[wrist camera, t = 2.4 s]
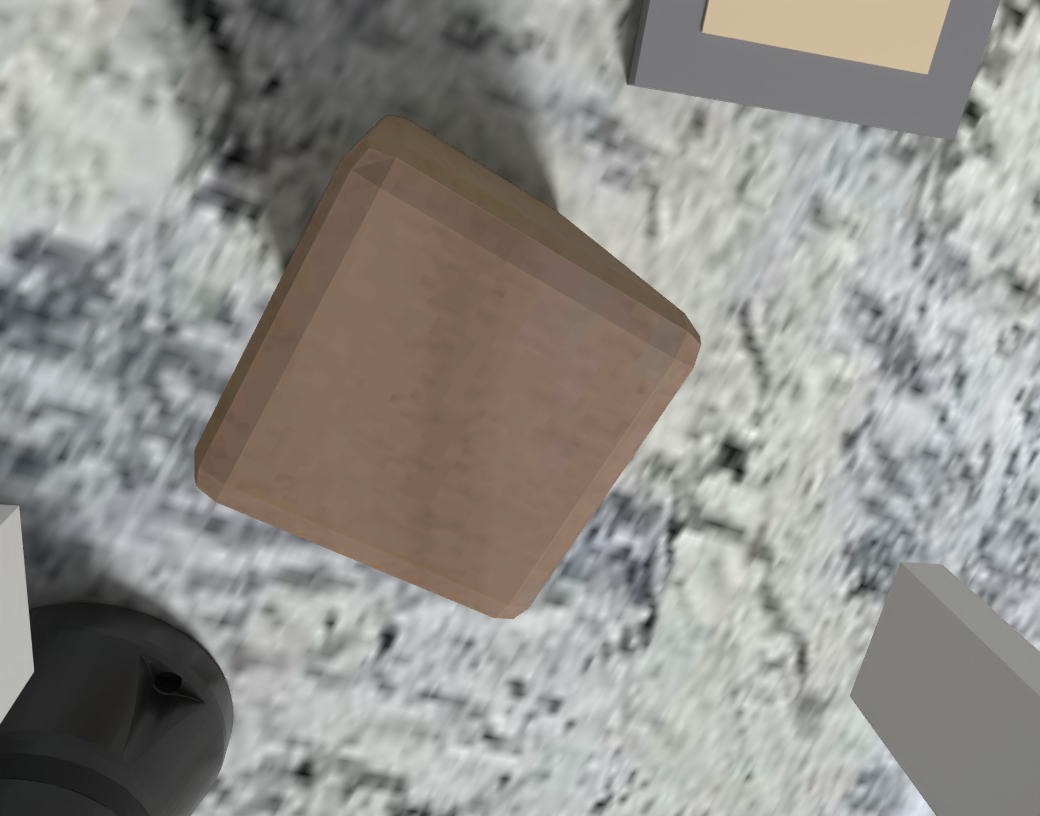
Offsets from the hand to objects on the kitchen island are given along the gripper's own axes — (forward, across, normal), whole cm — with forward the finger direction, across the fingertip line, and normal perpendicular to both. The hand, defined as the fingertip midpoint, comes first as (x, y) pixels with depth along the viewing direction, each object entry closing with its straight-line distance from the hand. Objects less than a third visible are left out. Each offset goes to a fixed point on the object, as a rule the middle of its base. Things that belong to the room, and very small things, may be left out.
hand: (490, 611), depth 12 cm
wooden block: (+28, 0, 0) cm, 28 cm away
